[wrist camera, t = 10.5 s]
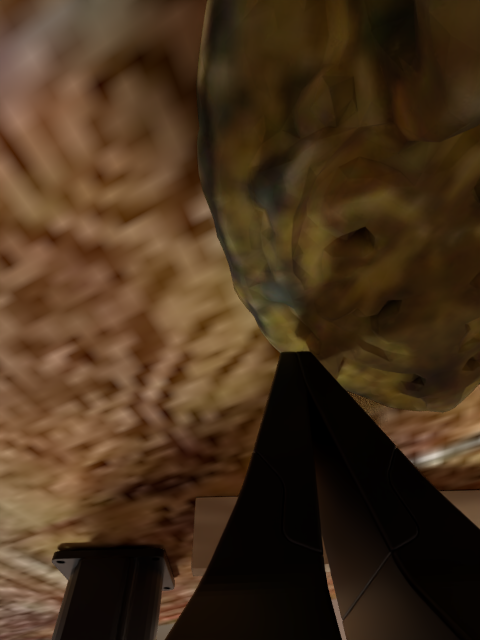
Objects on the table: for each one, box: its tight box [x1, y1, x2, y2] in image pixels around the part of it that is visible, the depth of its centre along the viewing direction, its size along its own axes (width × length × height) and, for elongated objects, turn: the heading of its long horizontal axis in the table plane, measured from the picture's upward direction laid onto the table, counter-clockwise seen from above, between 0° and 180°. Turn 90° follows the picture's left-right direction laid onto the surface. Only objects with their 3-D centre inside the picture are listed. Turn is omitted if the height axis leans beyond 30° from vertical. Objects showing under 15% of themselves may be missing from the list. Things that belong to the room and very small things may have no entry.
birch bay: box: [191, 490, 480, 576], centre depth 10 cm, size 24×16×3 cm
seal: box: [196, 0, 480, 412], centre depth 8 cm, size 9×5×15 cm
